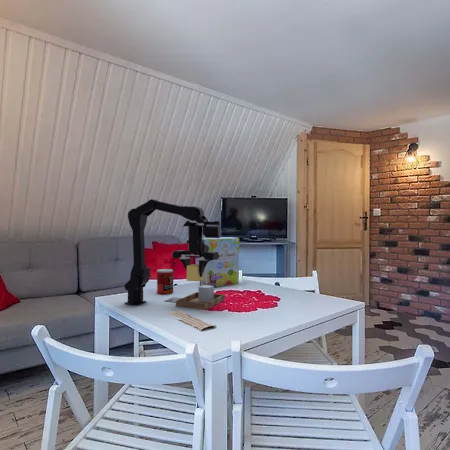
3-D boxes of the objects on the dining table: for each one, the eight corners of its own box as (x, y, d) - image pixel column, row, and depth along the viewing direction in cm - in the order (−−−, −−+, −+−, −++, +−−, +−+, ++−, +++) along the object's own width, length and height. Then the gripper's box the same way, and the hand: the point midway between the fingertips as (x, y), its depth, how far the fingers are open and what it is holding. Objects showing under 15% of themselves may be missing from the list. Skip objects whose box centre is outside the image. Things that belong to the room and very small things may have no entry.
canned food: (165, 295, 164) (165, 271, 163) (153, 293, 168) (153, 270, 168) (176, 292, 170) (176, 270, 170) (165, 290, 175) (165, 268, 174)
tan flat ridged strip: (166, 316, 131) (166, 312, 131) (183, 313, 135) (183, 309, 135) (201, 333, 112) (201, 327, 112) (219, 329, 116) (219, 323, 116)
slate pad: (180, 304, 146) (180, 302, 146) (164, 302, 149) (164, 301, 149) (189, 300, 153) (189, 298, 153) (173, 298, 156) (173, 297, 156)
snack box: (209, 289, 179) (209, 238, 179) (198, 286, 186) (199, 237, 185) (239, 283, 194) (239, 237, 193) (228, 281, 200) (229, 236, 200)
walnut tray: (206, 311, 136) (206, 304, 136) (175, 307, 141) (175, 300, 141) (224, 301, 152) (224, 294, 152) (196, 298, 158) (196, 292, 158)
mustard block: (197, 281, 139) (197, 266, 139) (186, 280, 141) (186, 265, 141) (203, 279, 143) (203, 264, 143) (192, 278, 145) (192, 264, 145)
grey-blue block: (209, 302, 148) (209, 288, 148) (198, 301, 150) (198, 287, 150) (213, 299, 153) (214, 285, 152) (203, 298, 154) (203, 285, 154)
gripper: (224, 237, 145) (224, 275, 146) (185, 236, 153) (185, 272, 153) (212, 238, 135) (212, 279, 135) (171, 237, 143) (171, 275, 143)
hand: (195, 276), depth 142 cm, fingers closed on mustard block, 5 cm apart
